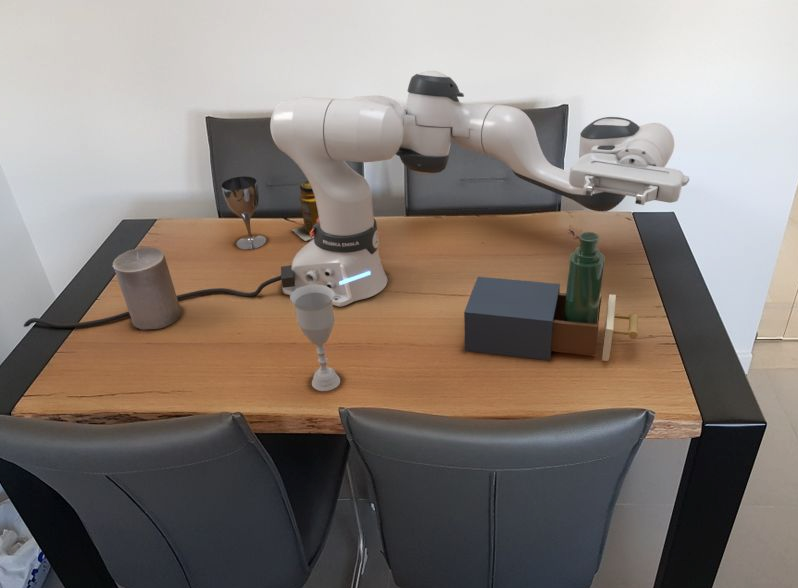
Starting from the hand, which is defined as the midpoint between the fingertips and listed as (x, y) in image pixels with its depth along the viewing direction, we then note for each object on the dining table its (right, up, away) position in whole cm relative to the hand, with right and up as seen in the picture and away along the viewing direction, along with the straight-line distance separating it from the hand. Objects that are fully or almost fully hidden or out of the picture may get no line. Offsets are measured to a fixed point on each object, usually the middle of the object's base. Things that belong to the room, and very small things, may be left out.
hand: (613, 196), depth 126 cm
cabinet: (-17, -25, +9) cm, 31 cm away
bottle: (-5, -24, +5) cm, 25 cm away
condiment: (-60, +2, +48) cm, 77 cm away
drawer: (-4, -25, +5) cm, 26 cm away
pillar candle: (-88, -21, +20) cm, 93 cm away
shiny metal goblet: (-75, -2, +45) cm, 87 cm away
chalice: (-51, -33, 0) cm, 61 cm away
